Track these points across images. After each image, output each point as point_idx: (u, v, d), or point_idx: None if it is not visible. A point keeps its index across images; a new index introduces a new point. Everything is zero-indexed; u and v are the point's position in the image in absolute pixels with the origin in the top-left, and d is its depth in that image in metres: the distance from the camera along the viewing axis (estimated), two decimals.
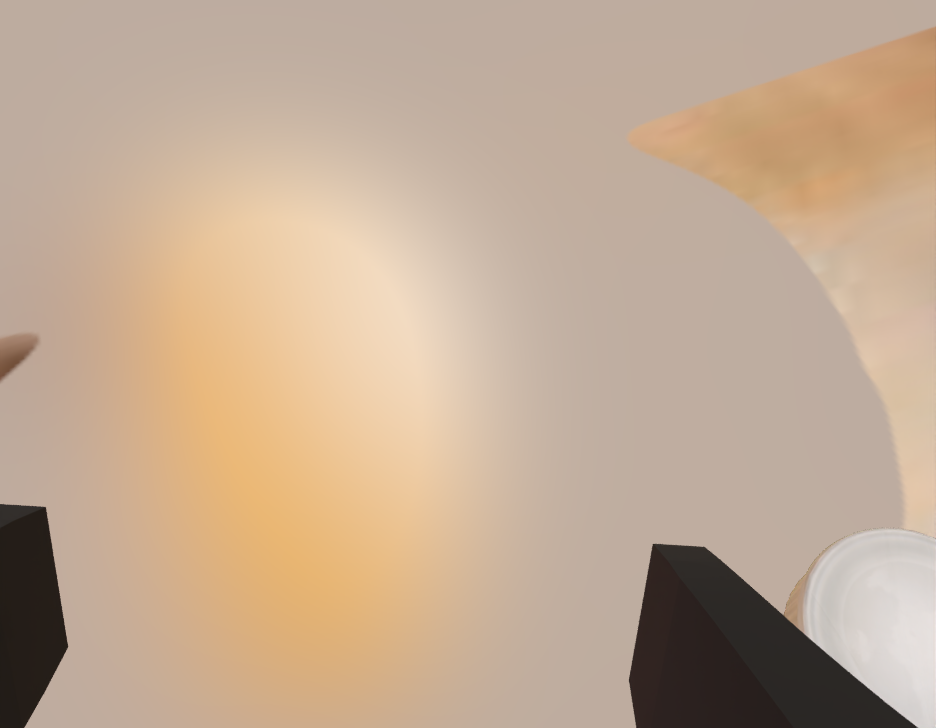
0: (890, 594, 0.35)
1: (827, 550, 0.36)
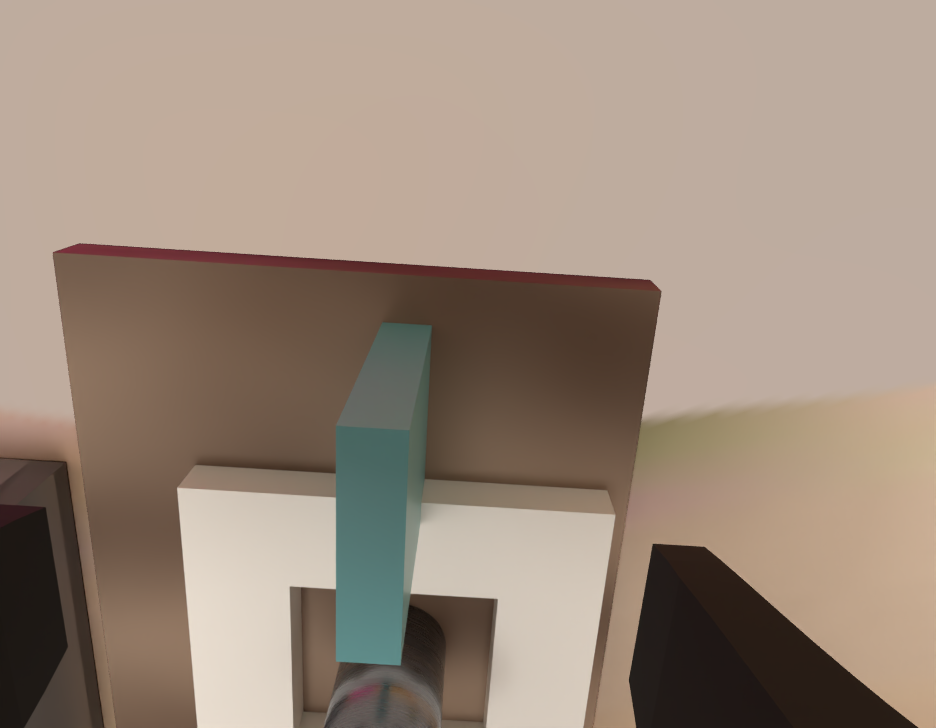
0: None
1: None
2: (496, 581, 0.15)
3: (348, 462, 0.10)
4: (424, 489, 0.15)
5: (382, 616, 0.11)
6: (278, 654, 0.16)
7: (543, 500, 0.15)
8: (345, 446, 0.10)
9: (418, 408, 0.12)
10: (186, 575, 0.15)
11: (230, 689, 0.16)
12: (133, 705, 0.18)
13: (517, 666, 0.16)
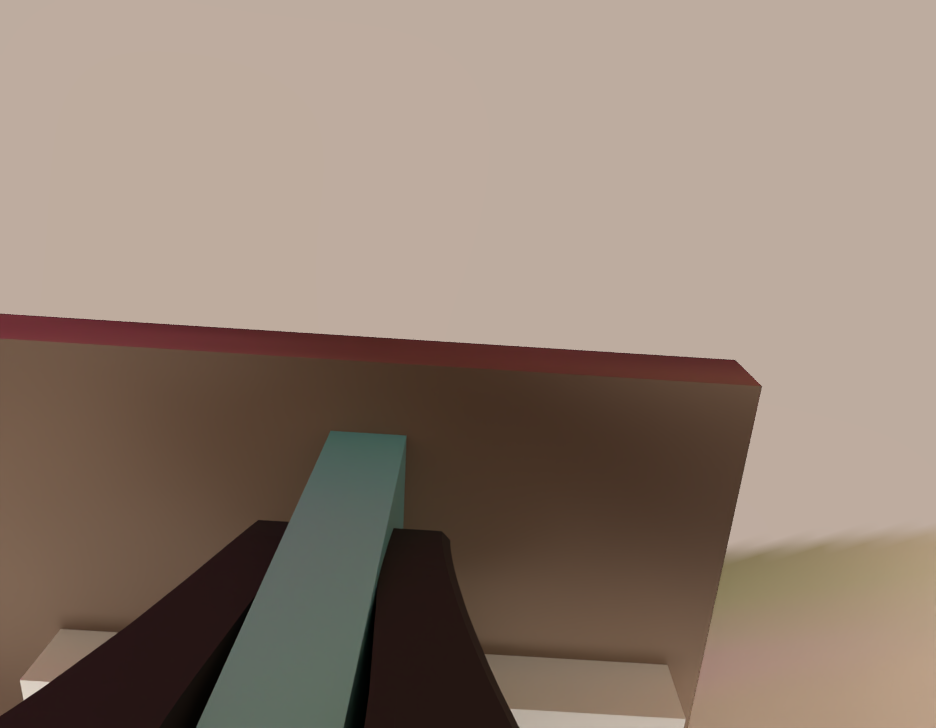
0: None
1: None
2: None
3: None
4: None
5: None
6: None
7: (575, 690, 0.10)
8: None
9: (371, 632, 0.07)
10: None
11: None
12: None
13: None
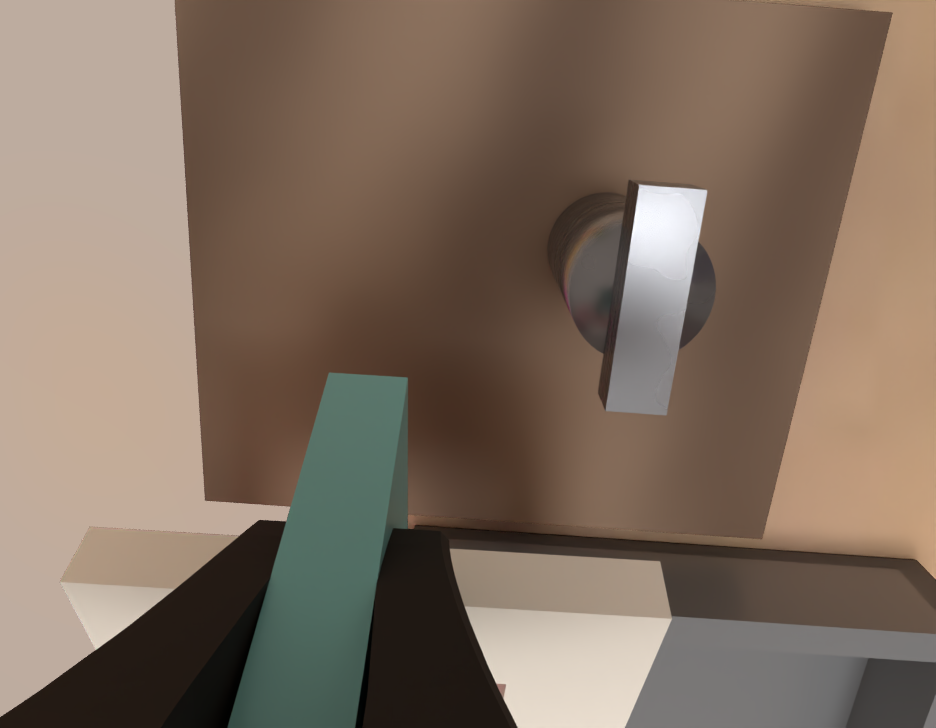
0: None
1: None
2: (504, 670, 0.12)
3: None
4: None
5: None
6: None
7: (571, 589, 0.11)
8: None
9: None
10: None
11: None
12: (661, 514, 0.18)
13: None
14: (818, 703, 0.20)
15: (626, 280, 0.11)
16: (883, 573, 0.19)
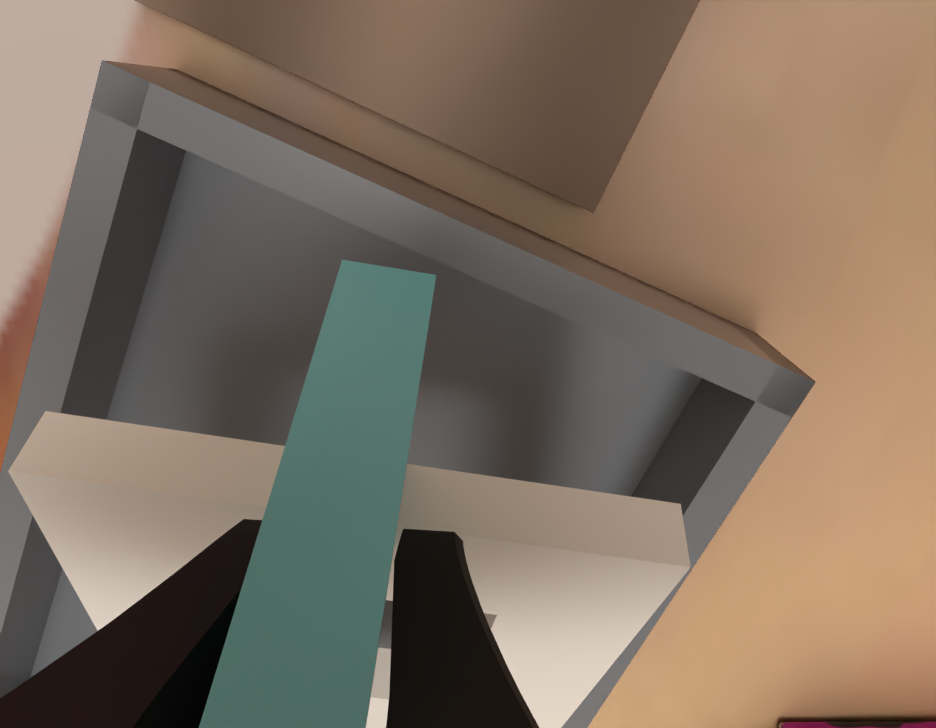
0: None
1: None
2: (498, 602, 0.11)
3: None
4: (404, 491, 0.10)
5: None
6: None
7: (584, 527, 0.10)
8: None
9: None
10: (55, 552, 0.11)
11: None
12: (484, 133, 0.14)
13: (510, 662, 0.12)
14: (594, 480, 0.17)
15: None
16: (716, 319, 0.15)
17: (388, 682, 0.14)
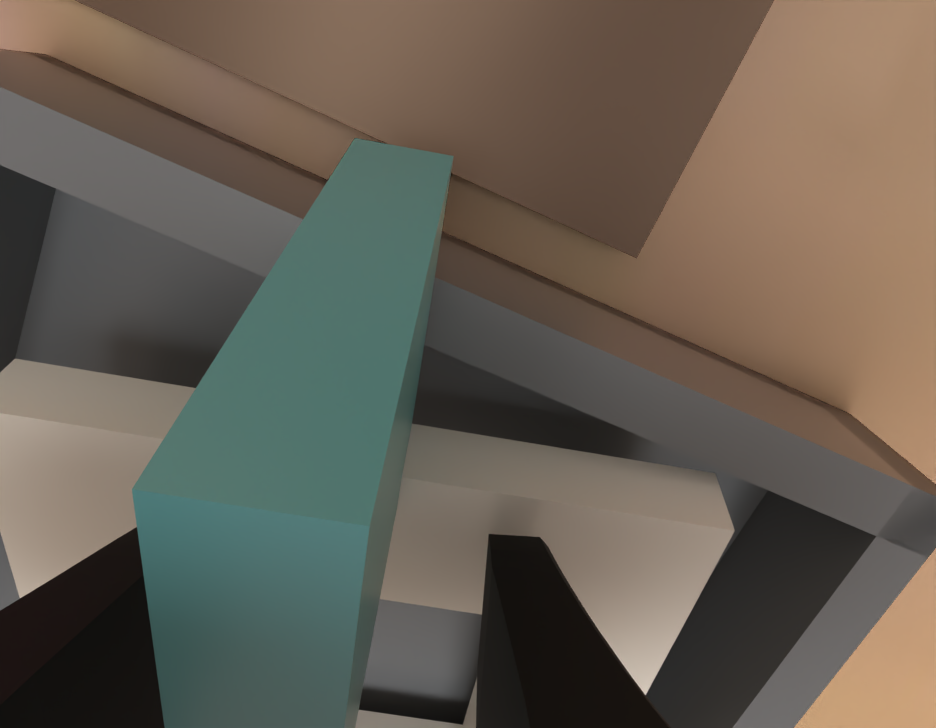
0: None
1: None
2: None
3: (181, 579, 0.03)
4: (409, 447, 0.09)
5: None
6: None
7: (612, 488, 0.09)
8: (167, 544, 0.03)
9: (409, 373, 0.05)
10: (4, 534, 0.09)
11: None
12: (482, 145, 0.10)
13: None
14: None
15: None
16: (802, 401, 0.11)
17: None
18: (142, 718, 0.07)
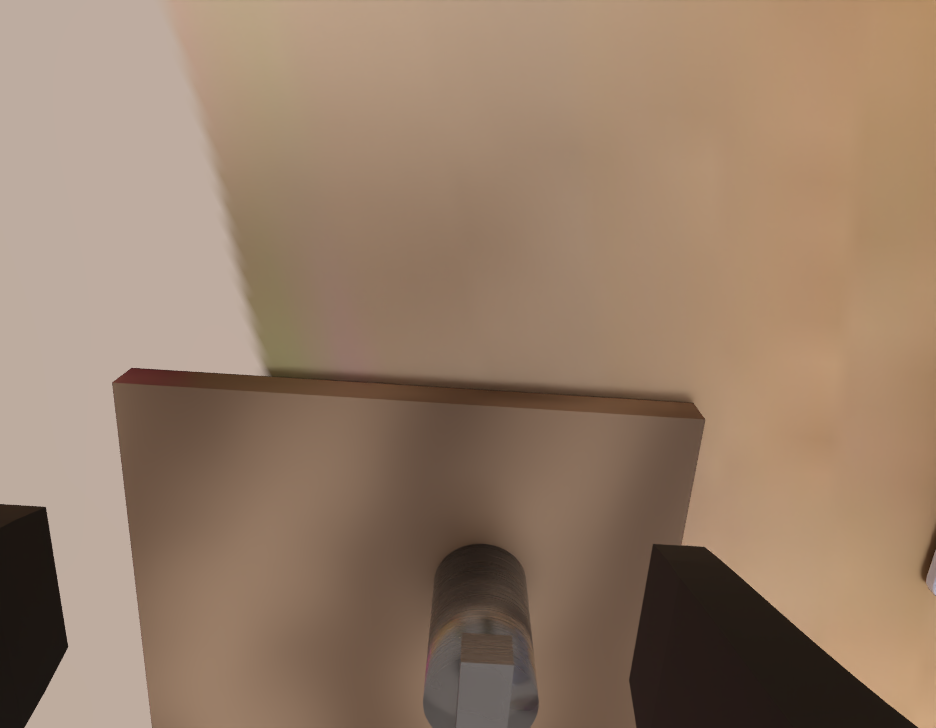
0: None
1: None
2: None
3: None
4: None
5: None
6: None
7: None
8: None
9: None
10: None
11: None
12: None
13: None
14: None
15: (457, 720, 0.14)
16: None
17: None
18: None
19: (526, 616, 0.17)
